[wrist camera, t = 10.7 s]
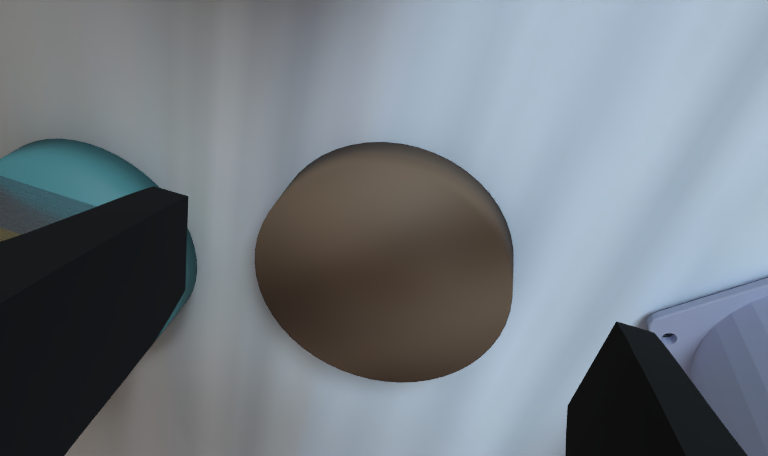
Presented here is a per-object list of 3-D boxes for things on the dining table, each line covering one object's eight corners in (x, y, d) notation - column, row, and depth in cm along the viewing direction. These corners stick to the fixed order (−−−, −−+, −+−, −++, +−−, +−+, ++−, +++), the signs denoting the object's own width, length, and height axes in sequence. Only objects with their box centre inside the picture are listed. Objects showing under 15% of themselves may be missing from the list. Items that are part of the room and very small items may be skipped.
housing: (119, 348, 25) (38, 446, 21) (20, 316, 25) (-81, 406, 21) (116, 212, 21) (15, 298, 17) (-1, 175, 21) (-130, 250, 17)
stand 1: (239, 283, 24) (218, 314, 23) (103, 347, 28) (76, 377, 27) (84, 97, 21) (47, 117, 20) (-45, 197, 25) (-86, 220, 23)
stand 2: (556, 303, 22) (559, 340, 20) (358, 370, 26) (347, 406, 24) (432, 95, 19) (423, 117, 17) (228, 207, 22) (204, 234, 21)
